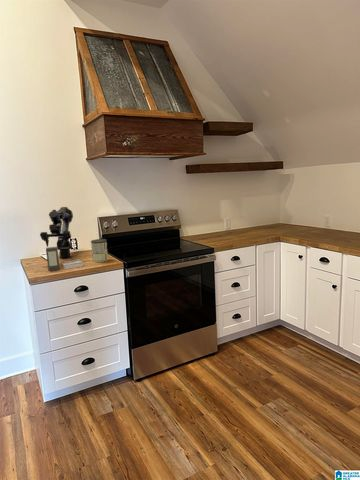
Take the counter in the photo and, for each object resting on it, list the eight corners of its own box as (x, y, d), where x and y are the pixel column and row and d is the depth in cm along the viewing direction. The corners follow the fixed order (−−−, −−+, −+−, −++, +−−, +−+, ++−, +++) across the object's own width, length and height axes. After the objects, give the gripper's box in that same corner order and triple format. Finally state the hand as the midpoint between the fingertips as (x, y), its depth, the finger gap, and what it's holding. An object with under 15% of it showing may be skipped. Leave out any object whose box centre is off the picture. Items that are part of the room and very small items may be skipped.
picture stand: (63, 265, 230) (62, 261, 230) (80, 263, 235) (79, 259, 235) (65, 269, 221) (65, 264, 221) (83, 266, 226) (82, 262, 226)
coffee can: (91, 260, 243) (89, 240, 240) (105, 258, 247) (104, 238, 245) (94, 263, 234) (92, 242, 231) (109, 260, 238) (108, 240, 236)
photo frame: (48, 269, 223) (46, 247, 221) (59, 268, 225) (57, 246, 223) (48, 270, 219) (45, 248, 217) (59, 269, 221) (57, 247, 218)
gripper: (39, 220, 228) (35, 240, 220) (68, 218, 230) (66, 238, 221) (43, 230, 238) (41, 249, 229) (72, 228, 239) (70, 247, 231)
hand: (54, 246), depth 227 cm, fingers open, 9 cm apart
